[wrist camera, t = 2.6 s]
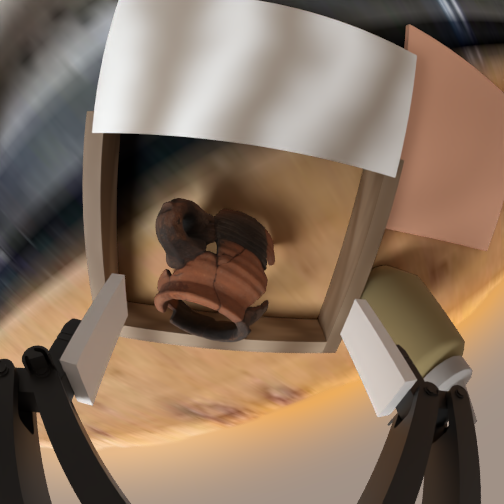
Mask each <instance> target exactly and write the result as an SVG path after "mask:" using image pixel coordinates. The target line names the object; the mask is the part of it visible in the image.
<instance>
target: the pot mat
mask: <svg viewBox="0 0 504 504" xmlns="http://www.w3.org/2000/svg"><path fill="white" fill-rule="evenodd" d="M404 49H405V50H407V51H409V52H411V53H413V54H415V55H417V60H416V70H415V78H414V86H413V93H412V100H411V106H410V112H409V118H408V123H407V128H406V133H405V138H404V143H403V148H402V152H401V157H400V159H402V160H404V164H403V168H402V172H401V176H400V180H399V184H398V187H397V191H396V195H395V198H394V202H393V205H392V209H391V212H390V215H389V219H388V222H387V225H386V228H385V229H389V230H394V231H399V232H404V233H409V234H414V235H419V236H423V237H428V238H433V239H437V240H442V241H446V242H450V243H455V244H459V245H463V246H467V247H471V248H476V249H480V250H484V251H487V250H488V247H489V244H490V242H491V239H492V236H493V233H494V231H495V228H496V225H497V222H498V218H499V215H500V212H501V209H502V205H503V202H504V93H503V92H502V91H501V90H500V89H499V88H498V87H497V86H496V85H495V84H494V83H492V82H491V81H490V80H489V79H488V78H487V77H485V76H484V75H483V74H482V73H481V72H479V71H478V70H477V69H476V68H475V67H473V66H472V65H471V64H469V63H468V62H467V61H466V60H464V59H463V58H462V57H460V56H459V55H457V54H456V53H455V52H453V51H452V50H450V49H449V48H447V47H446V46H444V45H443V44H441V43H440V42H438V41H437V40H435V39H434V38H432V37H431V36H429V35H427V34H426V33H424V32H422V31H421V30H419V29H417V28H415V27H414V26H412V25H410V24H409V25H406V33H405V45H404Z"/></svg>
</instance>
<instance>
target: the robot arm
mask: <svg viewBox="0 0 504 504" xmlns="http://www.w3.org/2000/svg"><path fill="white" fill-rule="evenodd" d="M127 316H128V310H127V300H126V288H125V275H121V274H115V273H112V274H111V275H110V277H109V278H108V280H107V281H106V283H105V284H104V286H103V287H102V289H101V290H100V292H99V294H98V295H97V297H96V298H95V300H94V301H93V303H92V305H91V306H90V308H89V309H88V311H87V313H86V314H85V316H84V318H83V319H82V320H78V319H71V320H70V321H69V322H67V323H66V324H65V325H64V327H63V328H62V330H61V333H59V335H58V336H57V339H56V340H55V341H54V343H53V345H52V346H51V348H50V350H49V351H48V349H46V348H45V347H43V346H32V347H30V348H28V349H27V350H26V351H25V352H24V354H23V356H22V362H23V364H24V366H25V368H15V366H14V365H13V363H12V361H10V360H8V359H0V504H52V503H51V500H50V496H49V493H48V488H47V484H46V479H45V474H44V469H43V464H42V458H41V452H40V445H39V437H38V428H37V417H36V412H40V415H41V418H42V420H43V423H44V426H45V429H46V431H47V434H48V436H49V439H50V441H51V444H52V446H53V449H54V451H55V453H56V455H57V458H58V460H59V462H60V464H61V466H62V468H63V470H64V472H65V474H66V476H67V478H68V480H69V482H70V484H71V486H72V488H73V489H74V491H75V493H76V495H77V497H78V498H79V500H80V502H81V503H82V504H131V503H130V502H129V501H128V499H127V498H126V496H125V495H124V494H123V492H122V491H121V489H120V488H119V486H118V485H117V483H116V482H115V480H114V479H113V478H112V476H111V474H110V473H109V471H108V470H107V468H106V466H105V465H104V463H103V461H102V460H101V458H100V456H99V455H98V453H97V451H96V449H95V447H94V446H93V444H92V442H91V440H90V438H89V436H88V434H87V432H86V430H85V428H84V426H83V424H82V422H81V420H80V418H79V416H78V414H77V412H76V410H75V407H74V405H73V403H72V398H73V396H74V395H75V397H76V399H77V401H78V402H82V403H85V404H89V405H92V406H93V404H94V401H95V398H96V395H97V392H98V389H99V386H100V384H101V381H102V378H103V375H104V373H105V370H106V368H107V365H108V362H109V360H110V357H111V355H112V352H113V350H114V347H115V345H116V342H117V340H118V337H119V335H120V333H121V330H122V328H123V326H124V323H125V321H126V319H127ZM340 335H341V337H342V339H343V341H344V343H345V345H346V347H347V349H348V352H349V354H350V356H351V358H352V360H353V362H354V365H355V367H356V369H357V371H358V373H359V376H360V378H361V380H362V382H363V384H364V387H365V389H366V391H367V393H368V396H369V398H370V400H371V402H372V405H373V407H374V409H375V412H376V414H377V417H381V416H386V415H390V414H391V413H392V411H393V410H394V409H395V408H396V409H397V412H398V413H397V414H396V415H395V416H394V418H393V419H392V420H391V421H390V422H389V423H388V425H390V424H391V423H392V426H391V429H390V431H389V434H388V437H387V440H386V442H385V445H384V447H383V450H382V452H381V455H380V457H379V459H378V462H377V464H376V466H375V468H374V471H373V473H372V475H371V477H370V479H369V481H368V483H367V485H366V488H365V490H364V492H363V493H362V495H361V497H360V499H359V501H358V503H357V504H415V501H416V498H417V495H418V493H419V490H420V486H421V483H422V480H423V477H424V488H423V499H422V504H481V485H480V467H479V456H478V447H477V439H476V433H475V426H474V420H473V415H472V410H471V405H470V400H469V395H468V393H467V391H466V390H465V388H463V387H462V386H460V385H454V386H452V387H451V388H450V390H449V391H441V390H439V388H438V387H437V386H436V385H435V384H433V383H432V382H428V381H426V382H425V381H424V379H423V378H422V376H421V374H420V373H419V371H418V369H417V368H416V366H415V365H414V364H413V362H412V360H411V358H409V355H408V354H407V352H406V351H405V350H404V349H403V348H402V347H401V346H400V345H399V344H397V345H396V344H395V343H394V341H393V340H392V338H391V337H390V335H389V334H388V332H387V331H386V329H385V328H384V326H383V324H382V323H381V321H380V320H379V318H378V317H377V315H376V314H375V312H374V311H373V310H372V308H371V307H370V305H369V304H368V302H367V301H366V299H355V300H354V303H353V305H352V308H351V310H350V313H349V315H348V317H347V320H346V322H345V324H344V327H343V329H342V331H341V333H340ZM448 421H449V426H448V427H447V422H448Z"/></svg>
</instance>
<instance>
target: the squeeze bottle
mask: <svg viewBox="0 0 504 504" xmlns="http://www.w3.org/2000/svg"><path fill="white" fill-rule="evenodd" d="M360 299H366V301H367V302H368V304H369V305H370V307H371V308H372V310H373V311H374V312H375V314H376V315H377V317H378V318H379V320H380V321H381V323H382V324H383V326H384V328H385V329H386V331H387V332H388V334H389V335H390V337H391V338H392V340H393V341H394V343H395V344H396V345H397V344H399V345H400V346H401V347H402V348H403V349H404V350H405V351H406V352H407V354H408V355H409V358H411V360H412V362H413V364H414V365H415V366H416V368H417V369H418V371H419V373H420V374H421V376H422V378H423V379H424V381H425V382H426V381H428V382H432V383H433V384H435V385H436V386H437V387H438V388H439V390H441V391H449V390H450V388H451V387H452V386H454V385H460V386H462V387H463V388H465V390H466V391H467V388H466V386H465V385H466V384H467V382H468V381H469V379H470V378H471V375H472V369H471V368H470V367H469V365H468V364H467V363H466V361H465V360H464V359H463V357H462V355H463V351H464V343H465V342H464V340H463V338H462V337H461V335H460V334H459V332H458V331H457V329H456V328H455V326H454V325H453V323H452V322H451V320H450V319H449V317H448V316H447V314H446V313H445V312H444V310H443V309H442V307H441V306H440V305H439V303H438V302H437V300H436V299H435V298H434V296H433V295H432V294H431V292H430V291H429V290H428V288H427V287H426V286H425V284H424V283H423V282H422V281H421V280H420V278H419V277H418V276H417V275H414V274H411V273H409V272H406V271H403V270H400V269H397V268H394V267H390V266H386V265H385V266H379V267H375V268H374V269H372V270H371V271H370V274H369V277H368V279H367V282H366V284H365V287H364V289H363V292H362V294H361V297H360ZM467 393H468V391H467ZM468 395H469V394H468ZM469 400H470V397H469ZM470 405H471V410H472V415H473V420H474V424H475V423H476V422H477V420H476V416H475V413H474V410H473V406H472V403H471V400H470Z"/></svg>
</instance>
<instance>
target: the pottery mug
mask: <svg viewBox="0 0 504 504" xmlns="http://www.w3.org/2000/svg"><path fill="white" fill-rule="evenodd" d="M156 234H157V237H158V240H159V242H160V243H161V245H162V247H163V248H164V250H165V252H166V262H167V264H168V266H169V267H171V268H176V271H175V272H174V273H173V274H172V275H171V273H170V271H169V270H168V269H165V270H164V271H163V273H162V274H161V276H160V278H159V280H158V287H157V288H158V291H159V292H158V294H156V296H155V298H154V304H155V306H156V308H157V310H158V311H160V312H162V313H164V312H166V310H167V307H169V308H170V309H171V310H173V314H172V316H171V318H170V322H171V323H172V324H173V325H175V326H176V327H178V328H180V329H182V330H184V331H186V332H188V333H190V334H193V335H195V336H198V337H202V338H205V339H209V340H212V341H219V342H237V341H241V340H243V339H245V338H246V337H247V336H248V334H249V333H250V332H251V329H249V326H250V325H252V324H254V323H255V322H256V321H257V320H258V319H259V318H260V317H261V316H262V315H263V313H265V312H266V310H267V308H268V304H269V302H268V300H265V301H264V302H263V303H262V304H261V305H260V306H257V307H249V306H250V305H252V304H253V303H254V302H255V301H256V300H258V299H259V298H260V297H261V296H262V295H263V294H264V293H265V291H266V286H267V277H266V275H265V273H264V270H266V265H267V261H268V264H269V265H273V264H274V262H275V255H274V250H273V249H274V244H273V240H272V238H271V236H270V234H269V233H268V231H267V230H266V229H265V228H264V226H263V225H262V224H260V223H259V222H258V221H257V220H256V219H254V218H252V217H250V216H248V215H247V214H245V213H242V212H239V211H234V210H227V209H222V210H220V212H219V214H217V215H216V216H215V217H213V216H212V215H210V214H207V213H206V212H204V211H203V210H202V209H201V208H200V207H199V206H198V205H197V204H196V203H194V202H193V201H190V200H186V199H181V198H177V199H173V200H171V201H169V202H166V203H164V204H163V206H162V208H161V210H160V212H159V214H158V216H157V219H156ZM212 242H216V245H217V253H216V254H214V253H213V252H210V251H206V245H208V244H210V243H212ZM182 300H185V301H189V302H194V303H197V304H201V305H203V306H207V307H209V308H211V309H213V310H217V311H218V312H219V313H221V314H223V315H225V316H226V317H227V318H229V319H230V320H231V321H232V322H230V321H215V319H214V318H212V317H209V316H205V315H202V314H199V313H197V312H195V311H193V310H192V309H191V308H189V307H188V306H187V305H186V304H185V303H184V302H183V301H182Z"/></svg>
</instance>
